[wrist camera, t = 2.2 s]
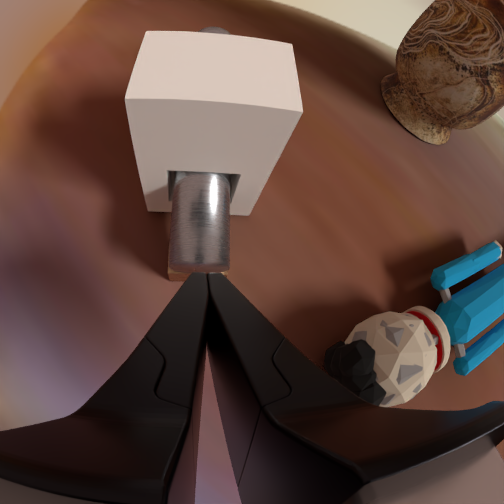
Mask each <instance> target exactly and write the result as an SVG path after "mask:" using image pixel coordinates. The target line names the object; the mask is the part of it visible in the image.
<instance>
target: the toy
mask: <svg viewBox="0 0 504 504" xmlns="http://www.w3.org/2000/svg"><path fill="white" fill-rule="evenodd" d="M501 256H502V246H501V245H500V244H499V243H498V242H497V241H496V240H495V241H494V242H491V243H488V244H486V245H485V246H483V247H481V248H479V249H478V250H476V251H474V252H473V253H471V254H466V255H463V256H461V257H459V258H457V259H455V260H453V261H451V262H448V263H446V264H444V265H442V266H440V267H438V268H435V269H434V270H433V273H432V275H431V278H430V280H431V283H432V287H433V288H435V289H436V290H438V291H439V292H440V295H441V297H442V300H443V301H442V302H441V303H440V304H439V306H438V308H437V309H436V311H435V313H434V312H433V311H432V310H430V309H428V308H426V307H423V306H415V307H412V308H410V309H408V310H406V311H404V312H403V313H396V312H391V311H389V312H385V313H381V314H377V315H373V316H371V317H370V318H368V319H366V320H364V321H363V322H361V323H359V324H357V325H356V326H355V328H354V329H353V331H352V332H351V333H350V335H349V336H348V338H347V339H346V341H345V342H342V341H339V342H338V343H336V344H335V345H333V346H332V347H330V348H329V349H328V350H326V354H325V359H324V365H325V369H326V371H327V372H328V374H329V375H330V376H331V377H332V378H334V379H335V380H336V381H338V382H339V383H340V384H342V385H343V386H344V387H346V388H347V389H348V390H350V391H351V392H352V393H354V394H355V395H357V396H358V397H360V398H361V399H363V400H365V401H366V402H368V403H371V404H373V405H377V406H381V407H390V406H394V405H398V404H402V403H406V402H407V401H409V400H410V399H413V398H414V396H415V395H416V394H417V393H418V392H420V391H421V390H422V389H423V388H424V387H425V386H426V384H427V382H428V381H429V379H430V377H431V375H432V374H434V373H436V372H437V371H439V370H440V369H441V368H443V367H444V366H445V364H446V363H447V361H448V359H449V355H450V345H451V346H454V349H455V354H456V359H455V360H454V362H453V365H454V369H455V372H456V373H457V374H459V375H463V376H465V375H467V374H468V373H469V372H470V371H472V370H473V369H474V368H475V367H476V366H478V365H479V364H480V363H481V362H482V361H484V360H485V359H486V358H487V357H488V356H489V355H491V354H492V353H493V352H494V351H495V350H496V349H497V348H498V347H500V346H501V345H502V344H503V343H504V319H503V320H502V321H501V322H499V323H498V324H497V325H496V326H495V327H494V328H492V329H491V330H490V331H489V332H487V333H486V334H485V335H483V336H482V337H481V338H480V339H479V340H477V341H476V342H475V343H474V344H472V345H471V346H470V347H469V348H467V349H466V350H465V348H464V343H467V342H468V341H470V340H471V339H472V338H474V337H475V336H476V335H477V334H479V333H480V332H481V331H482V330H484V329H485V328H486V327H487V326H489V325H490V324H491V323H492V322H494V321H495V320H496V319H497V318H498V317H499V316H501V315H502V314H503V313H504V264H502V265H501V266H499V267H498V268H496V269H494V270H493V271H491V272H490V273H488V274H487V275H485V276H483V277H482V278H480V279H479V280H477V281H475V282H474V283H472V284H470V285H469V286H467V287H465V288H464V289H462V290H460V291H459V292H457V293H455V294H453V295H452V296H451V294H450V291H449V287H451V286H453V285H455V284H456V283H458V282H460V281H462V280H464V279H466V278H467V277H469V276H471V275H473V274H475V273H476V272H478V271H480V270H481V269H483V268H485V267H486V266H488V265H490V264H492V263H493V262H495V261H497V260H498V259H499V258H501Z"/></svg>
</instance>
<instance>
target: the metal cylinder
mask: <svg viewBox="0 0 504 504" xmlns="http://www.w3.org/2000/svg"><path fill="white" fill-rule="evenodd" d="M198 32H202V33H216V34H227V35H231V34H230V33H229V32H228V31H226V30H225V29H223V28H219V27H207V28H204V29H201V30H200V31H198ZM229 268H230V173H214V172H195V171H175V176H174V188H173V200H172V213H171V228H170V244H169V257H168V276H169V280H170V281H186V280H187V278H188V277H189V276H190V274H191V273H192V272H204V273H206V274H208V273H222V274H223V275H224V276H225V277H227V275H228V270H229Z"/></svg>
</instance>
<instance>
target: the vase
mask: <svg viewBox="0 0 504 504" xmlns="http://www.w3.org/2000/svg"><path fill="white" fill-rule="evenodd" d="M396 70H397V72H396V73H393V74H390V75H387V76H385V77H384V78H383V79H382V81H381V85H380V86H381V92H382V96H383V98H384V101H385V103H386V105H387V106H388V108H389V109H390V111H391V112H392V113H393V115H394V116H395V117H396V118H397V120H398V121H399V122H400V123H401V124H402V125H403V126H404V127H405V128H407V129H408V130H409V131H410V132H411V133H413V134H415V135H416V136H417V137H418V138H420V139H421V140H423V141H425V142H428V143H431V144H436V145H440V144H444V143H446V142H447V141H448V139H449V137H450V134H451V130H452V128H455V129H460V130H461V129H468V128H472V127H474V126H476V125H478V124H480V123H482V122H484V121H485V120H487V119H488V118H490V117H491V116H492V115H494V114H495V113H496V112H497V111H499V110H500V109H501V108H502V107H503V106H504V0H435V1H434V2H433V3H432V4H431V5H430V6H429V7H428V8H427V9H426V10H425V11H424V12H423V13H422V15H421V16H420V17H419V18H418V19H417V20H416V22H415V23H414V24H413V25H412V27H411V28H410V29H409V31H408V32H407V34H406V35H405V37H404V38H403V40H402V42H401V44H400V46H399V48H398V50H397V55H396Z"/></svg>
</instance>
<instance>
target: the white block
mask: <svg viewBox="0 0 504 504" xmlns="http://www.w3.org/2000/svg"><path fill="white" fill-rule="evenodd" d="M125 105H126V110H127V116H128V122H129V127H130V132H131V137H132V142H133V147H134V152H135V157H136V162H137V167H138V171H139V176H140V180H141V185H142V189H143V193H144V197H145V202H146V206H147V210H148V211H154V212H172V200H173V188H174V176H175V171H195V172H214V173H230V215H245V216H249V215H250V213H251V211H252V209H253V207H254V205H255V203H256V201H257V199H258V197H259V195H260V193H261V191H262V189H263V187H264V186H265V184H266V182H267V180H268V178H269V176H270V174H271V172H272V170H273V168H274V166H275V164H276V162H277V161H278V159H279V157H280V155H281V153H282V151H283V149H284V147H285V145H286V143H287V141H288V140H289V138H290V136H291V134H292V132H293V130H294V128H295V126H296V124H297V123H298V121H299V119H300V117H301V115H302V113H303V108H302V101H301V95H300V88H299V82H298V76H297V70H296V64H295V58H294V52H293V46H292V44H289V43H284V42H278V41H272V40H266V39H259V38H252V37H245V36H236V35H227V34H216V33H202V32H183V31H146V33H145V36H144V39H143V42H142V45H141V47H140V50H139V53H138V56H137V59H136V62H135V65H134V69H133V72H132V75H131V78H130V82H129V85H128V88H127V92H126V95H125Z"/></svg>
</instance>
